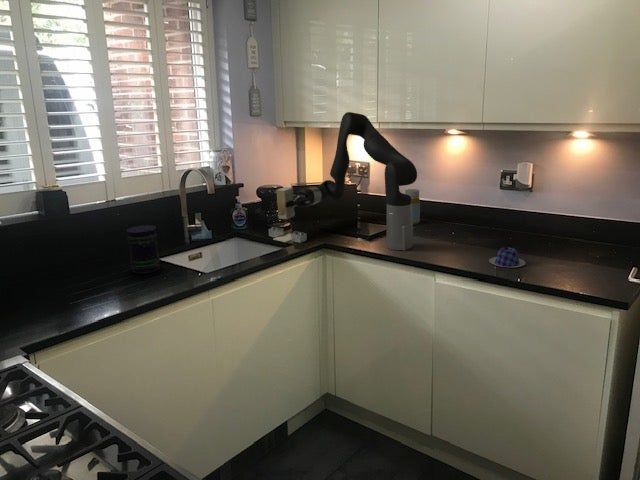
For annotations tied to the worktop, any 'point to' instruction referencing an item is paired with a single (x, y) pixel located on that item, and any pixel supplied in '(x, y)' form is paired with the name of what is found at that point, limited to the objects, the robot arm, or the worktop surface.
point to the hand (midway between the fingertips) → (281, 204)
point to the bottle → (414, 205)
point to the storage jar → (143, 248)
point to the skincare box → (282, 198)
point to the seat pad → (284, 238)
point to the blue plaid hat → (507, 258)
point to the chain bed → (295, 235)
